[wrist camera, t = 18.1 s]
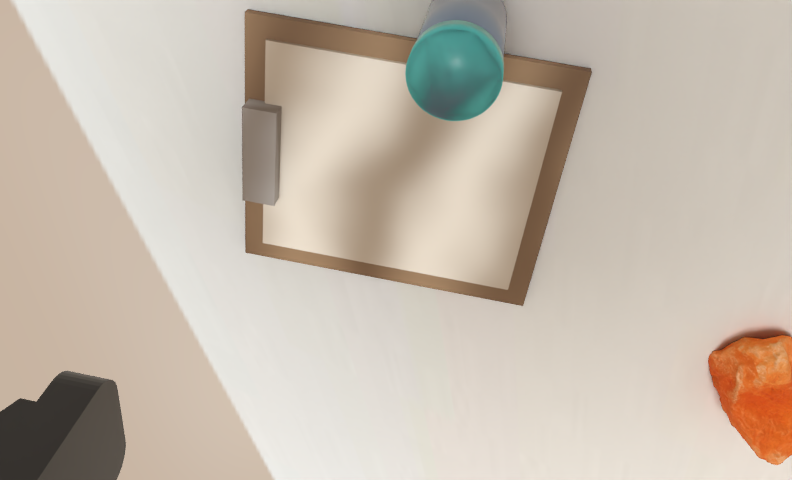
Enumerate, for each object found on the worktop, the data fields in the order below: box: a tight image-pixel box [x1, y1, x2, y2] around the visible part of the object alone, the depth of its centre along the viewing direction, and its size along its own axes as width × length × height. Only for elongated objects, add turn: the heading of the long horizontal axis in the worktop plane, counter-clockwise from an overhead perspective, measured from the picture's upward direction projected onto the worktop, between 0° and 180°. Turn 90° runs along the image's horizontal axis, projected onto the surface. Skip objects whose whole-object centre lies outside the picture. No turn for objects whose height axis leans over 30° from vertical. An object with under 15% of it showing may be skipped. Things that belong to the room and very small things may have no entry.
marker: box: [405, 0, 507, 121], centre depth 27 cm, size 3×3×7 cm
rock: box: [708, 335, 792, 465], centre depth 37 cm, size 12×12×4 cm
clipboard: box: [242, 10, 592, 306], centre depth 34 cm, size 15×13×1 cm
